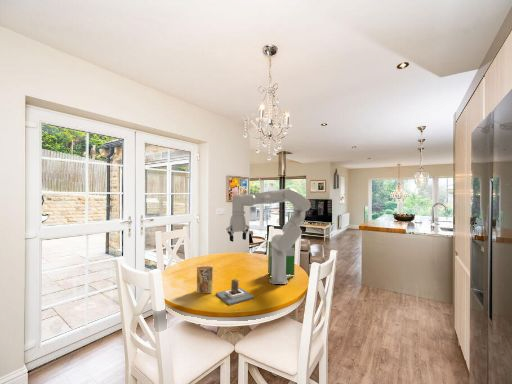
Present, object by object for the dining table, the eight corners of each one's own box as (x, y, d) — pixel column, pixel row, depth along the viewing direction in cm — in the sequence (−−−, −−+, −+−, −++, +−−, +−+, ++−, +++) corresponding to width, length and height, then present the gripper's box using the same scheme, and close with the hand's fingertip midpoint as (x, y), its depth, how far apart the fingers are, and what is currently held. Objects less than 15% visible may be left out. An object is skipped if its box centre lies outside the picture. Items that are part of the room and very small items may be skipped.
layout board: (239, 288, 147) (239, 284, 147) (254, 298, 134) (254, 293, 134) (215, 294, 138) (216, 290, 138) (229, 305, 125) (229, 300, 125)
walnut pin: (235, 292, 139) (236, 278, 139) (239, 295, 136) (239, 281, 136) (229, 294, 137) (230, 280, 137) (233, 296, 133) (233, 282, 134)
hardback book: (270, 277, 168) (270, 243, 169) (268, 274, 176) (268, 241, 176) (294, 276, 171) (294, 243, 171) (291, 273, 178) (291, 241, 178)
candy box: (212, 290, 144) (213, 265, 144) (211, 293, 140) (212, 267, 140) (197, 290, 144) (198, 265, 144) (196, 293, 139) (197, 267, 139)
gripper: (245, 212, 163) (245, 238, 163) (223, 214, 152) (223, 241, 152) (252, 213, 157) (252, 239, 157) (229, 215, 146) (229, 243, 146)
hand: (238, 240), depth 155 cm, fingers open, 9 cm apart
